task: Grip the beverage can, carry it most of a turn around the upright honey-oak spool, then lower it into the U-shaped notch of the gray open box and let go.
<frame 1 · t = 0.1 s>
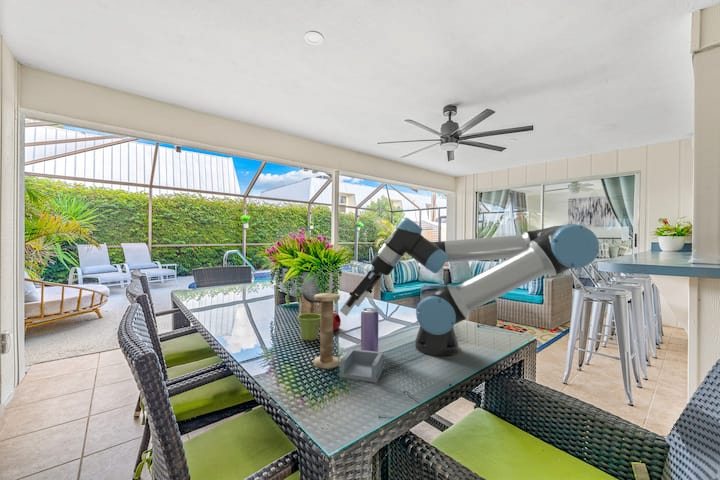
hand: (349, 308, 107), 15 cm above the table, tool tilted 35°, fingers open, 13 cm apart
pomegranate: (329, 329, 133), on the table
plant pot: (309, 338, 121), on the table
gray open box: (362, 372, 92), on the table
beverage can: (369, 354, 107), on the table
spool: (326, 363, 98), on the table
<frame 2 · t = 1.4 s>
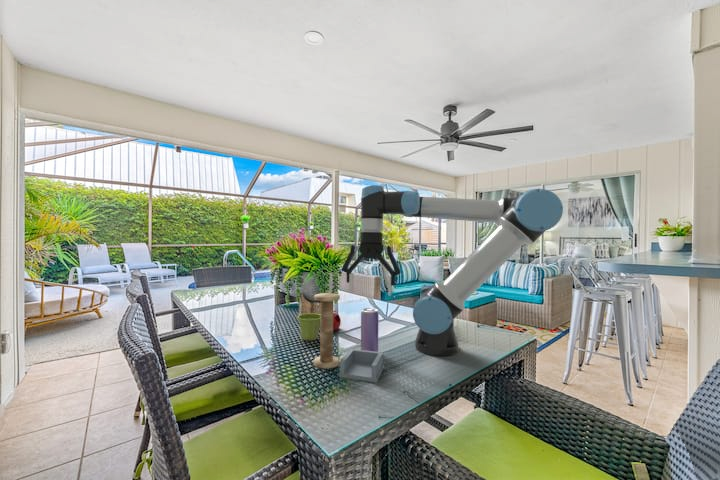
hand: (370, 293, 106), 21 cm above the table, tool pointing down, fingers open, 13 cm apart
nothing on the table moved.
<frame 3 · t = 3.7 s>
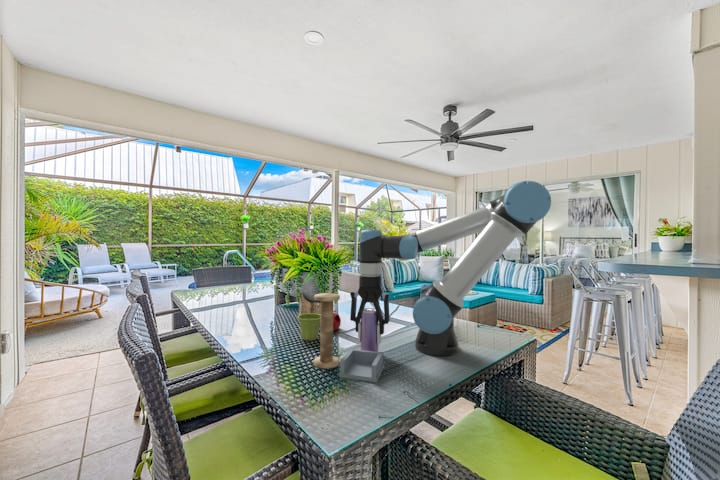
hand: (369, 342, 107), 4 cm above the table, tool pointing down, fingers closed on beverage can, 6 cm apart
beverage can: (369, 354, 107), on the table, touching gripper
everything else where it was.
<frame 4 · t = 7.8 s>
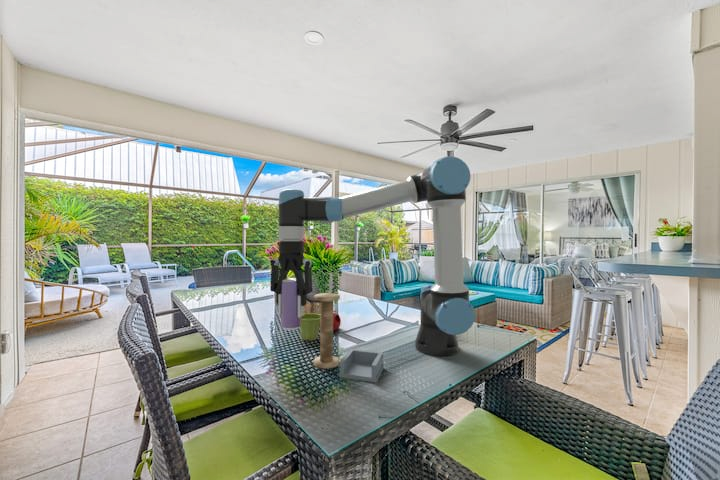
hand: (291, 315, 96), 16 cm above the table, tool pointing down, fingers closed on beverage can, 6 cm apart
beverage can: (291, 327, 96), point 12 cm above the table, touching gripper
everything else where it was.
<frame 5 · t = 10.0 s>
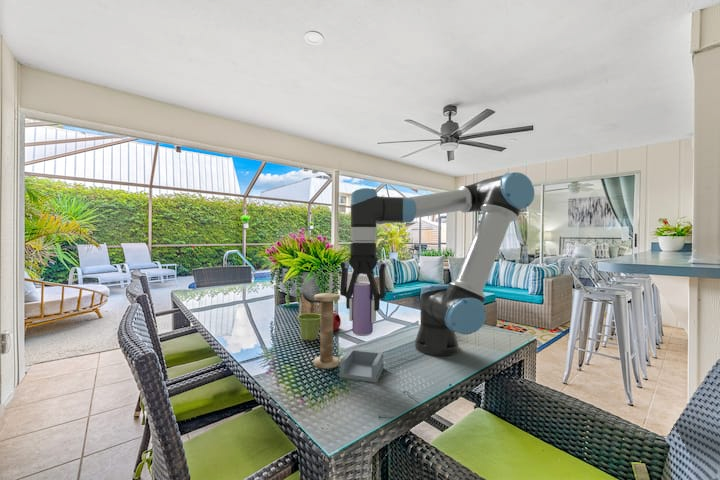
hand: (362, 320, 91), 16 cm above the table, tool pointing down, fingers closed on beverage can, 6 cm apart
beverage can: (362, 333, 92), point 12 cm above the table, touching gripper
everything else where it was.
when the fingers open (6 cm above the table, at t = 11.9 s): beverage can drops 1 cm, resting on gray open box.
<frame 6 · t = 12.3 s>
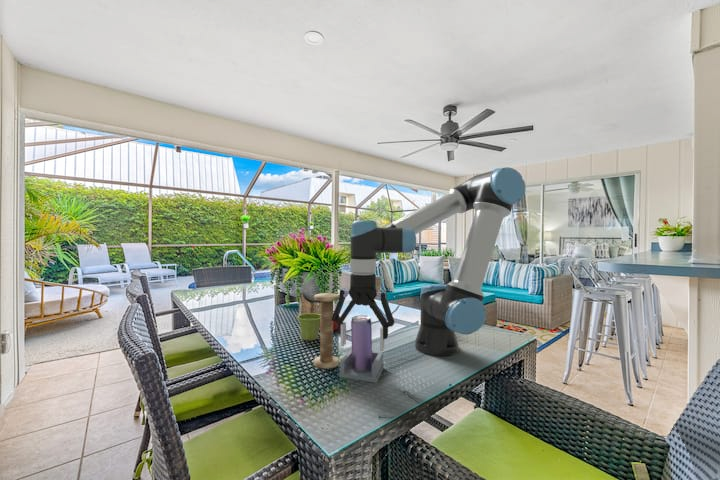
hand: (362, 347, 92), 8 cm above the table, tool pointing down, fingers open, 11 cm apart
beverage can: (362, 368, 92), point 1 cm above the table, touching gray open box
everything else where it was.
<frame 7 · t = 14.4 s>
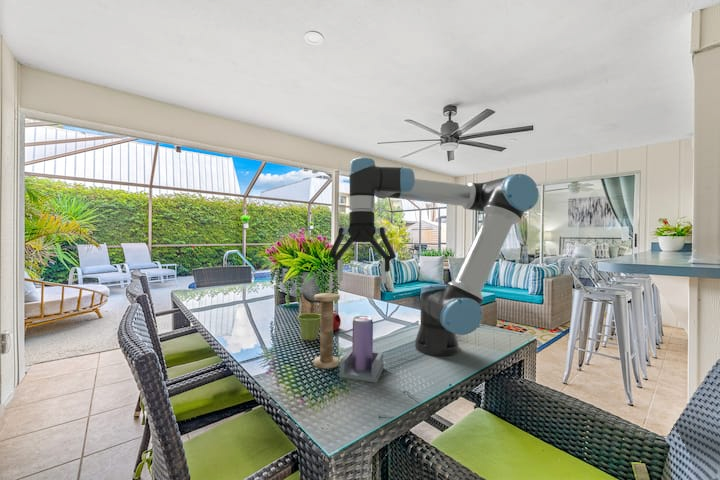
hand: (361, 281, 94), 27 cm above the table, tool pointing down, fingers open, 13 cm apart
nothing on the table moved.
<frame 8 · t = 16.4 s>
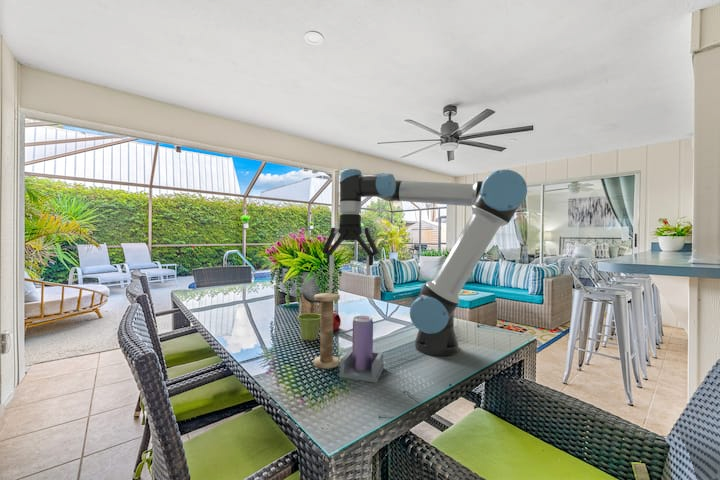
hand: (349, 274, 110), 27 cm above the table, tool pointing down, fingers open, 13 cm apart
nothing on the table moved.
at the end: beverage can inside the target area on the gray open box (0.5 cm from its centre), point 1.0 cm above the gray open box's base; beverage can tilted 0°; the gripper is holding nothing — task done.
